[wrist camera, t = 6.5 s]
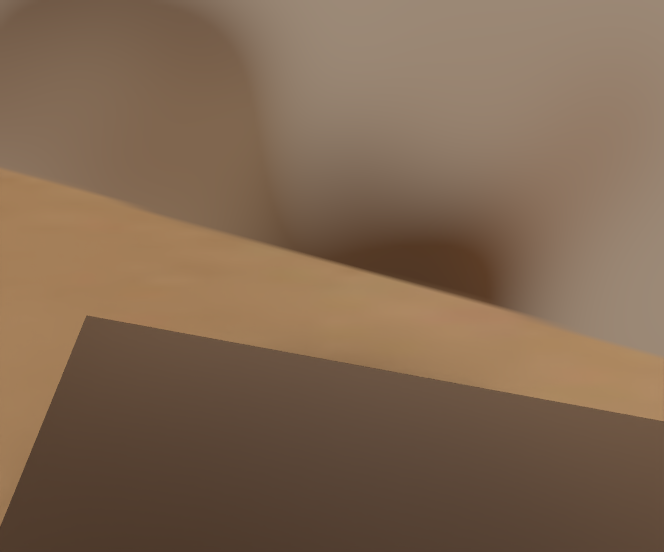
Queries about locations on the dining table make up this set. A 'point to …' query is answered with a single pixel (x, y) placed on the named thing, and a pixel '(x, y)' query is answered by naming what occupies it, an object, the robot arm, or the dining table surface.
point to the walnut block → (319, 459)
